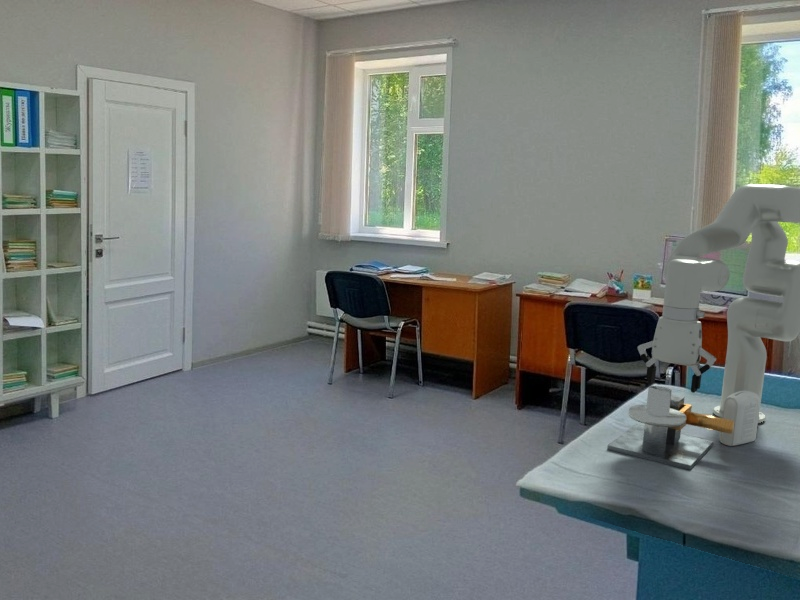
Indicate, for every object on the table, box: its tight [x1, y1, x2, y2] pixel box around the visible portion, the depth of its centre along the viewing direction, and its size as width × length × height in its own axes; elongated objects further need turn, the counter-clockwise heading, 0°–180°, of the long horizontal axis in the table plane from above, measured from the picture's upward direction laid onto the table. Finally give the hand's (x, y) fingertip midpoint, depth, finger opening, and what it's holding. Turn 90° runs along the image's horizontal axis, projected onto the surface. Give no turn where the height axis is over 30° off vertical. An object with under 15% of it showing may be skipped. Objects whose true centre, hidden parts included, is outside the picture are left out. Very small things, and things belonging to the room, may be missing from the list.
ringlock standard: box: [606, 385, 734, 471], centre depth 169 cm, size 22×23×15 cm
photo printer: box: [719, 391, 761, 447], centre depth 177 cm, size 10×4×12 cm, turn 123°
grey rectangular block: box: [666, 393, 685, 444], centre depth 174 cm, size 5×4×10 cm
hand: (672, 387), depth 173 cm, fingers open, 9 cm apart
